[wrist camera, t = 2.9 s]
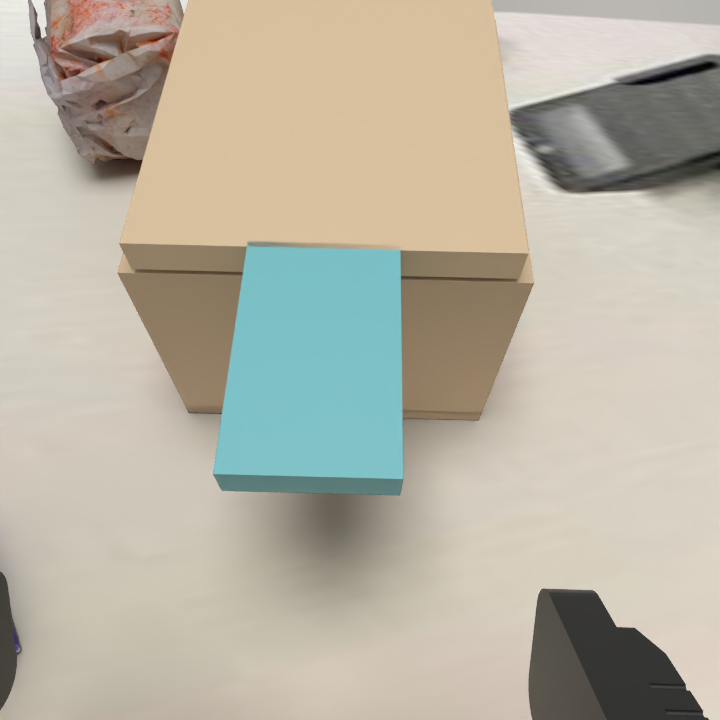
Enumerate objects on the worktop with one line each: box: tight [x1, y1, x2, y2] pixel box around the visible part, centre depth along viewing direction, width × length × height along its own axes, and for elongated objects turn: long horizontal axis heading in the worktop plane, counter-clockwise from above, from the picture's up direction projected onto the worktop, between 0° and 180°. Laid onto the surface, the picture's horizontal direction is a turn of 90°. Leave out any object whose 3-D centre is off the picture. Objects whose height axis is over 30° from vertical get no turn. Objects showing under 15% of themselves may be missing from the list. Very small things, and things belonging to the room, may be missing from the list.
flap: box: [119, 0, 529, 495], centre depth 21 cm, size 12×21×1 cm, turn 179°
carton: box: [118, 21, 534, 420], centre depth 28 cm, size 13×14×10 cm
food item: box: [28, 0, 184, 165], centre depth 35 cm, size 14×8×10 cm, turn 18°
